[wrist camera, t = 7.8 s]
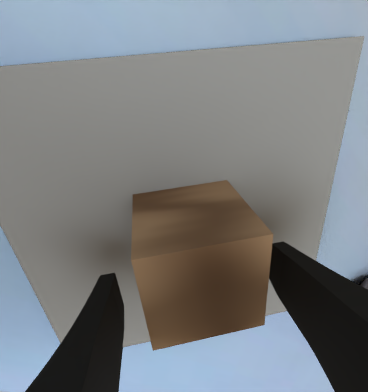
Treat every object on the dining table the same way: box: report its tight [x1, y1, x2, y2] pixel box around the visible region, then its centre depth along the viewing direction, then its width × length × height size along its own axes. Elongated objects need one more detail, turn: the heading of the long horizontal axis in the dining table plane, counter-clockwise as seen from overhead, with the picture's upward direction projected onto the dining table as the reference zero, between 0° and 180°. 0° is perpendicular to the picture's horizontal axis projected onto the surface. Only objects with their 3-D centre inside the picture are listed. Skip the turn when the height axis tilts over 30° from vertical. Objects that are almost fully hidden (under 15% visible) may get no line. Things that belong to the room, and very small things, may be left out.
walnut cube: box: [131, 180, 273, 350], centre depth 12 cm, size 5×5×5 cm
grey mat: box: [0, 36, 364, 347], centre depth 14 cm, size 18×18×1 cm
